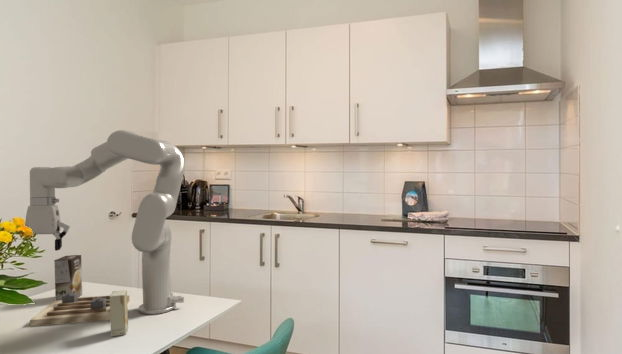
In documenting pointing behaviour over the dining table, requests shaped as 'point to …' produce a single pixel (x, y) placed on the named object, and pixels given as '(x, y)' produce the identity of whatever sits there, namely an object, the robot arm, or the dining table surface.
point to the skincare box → (118, 313)
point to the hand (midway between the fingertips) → (43, 250)
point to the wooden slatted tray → (72, 312)
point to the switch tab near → (98, 303)
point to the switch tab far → (70, 297)
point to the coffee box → (68, 276)
